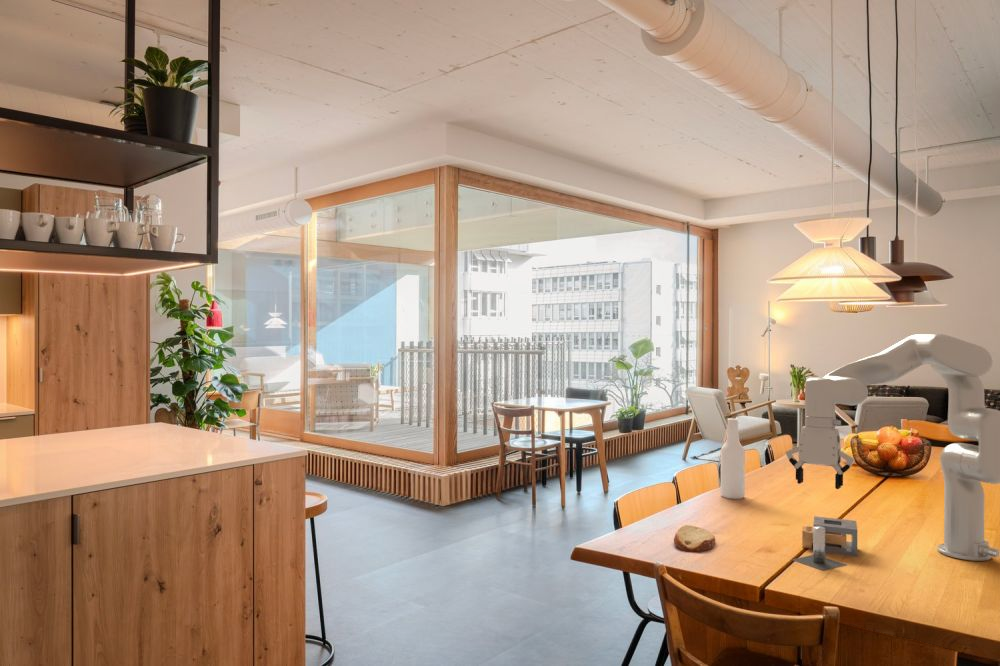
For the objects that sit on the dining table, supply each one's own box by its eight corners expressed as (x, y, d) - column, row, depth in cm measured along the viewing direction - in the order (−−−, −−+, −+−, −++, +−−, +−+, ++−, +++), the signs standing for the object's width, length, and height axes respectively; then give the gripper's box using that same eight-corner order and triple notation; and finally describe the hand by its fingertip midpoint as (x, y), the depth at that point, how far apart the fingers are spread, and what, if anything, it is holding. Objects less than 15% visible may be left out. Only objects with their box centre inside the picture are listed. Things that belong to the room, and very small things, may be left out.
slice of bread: (693, 530, 219) (693, 518, 219) (735, 546, 203) (735, 533, 203) (648, 538, 211) (648, 526, 211) (689, 555, 195) (689, 542, 195)
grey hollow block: (856, 548, 201) (856, 520, 201) (857, 558, 192) (857, 529, 192) (803, 541, 207) (803, 515, 207) (802, 551, 198) (802, 523, 198)
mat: (847, 566, 185) (847, 564, 185) (823, 572, 180) (823, 571, 180) (815, 555, 194) (815, 554, 194) (791, 561, 189) (791, 559, 189)
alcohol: (741, 494, 267) (741, 417, 267) (747, 499, 258) (747, 420, 258) (718, 493, 268) (718, 417, 268) (723, 499, 259) (723, 419, 259)
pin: (827, 563, 187) (827, 528, 187) (820, 564, 185) (820, 529, 185) (817, 559, 189) (817, 525, 189) (810, 561, 188) (810, 526, 188)
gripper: (857, 424, 185) (856, 488, 185) (790, 418, 195) (789, 478, 195) (851, 427, 179) (850, 492, 179) (782, 421, 190) (781, 483, 190)
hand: (818, 485), depth 187 cm, fingers open, 9 cm apart
